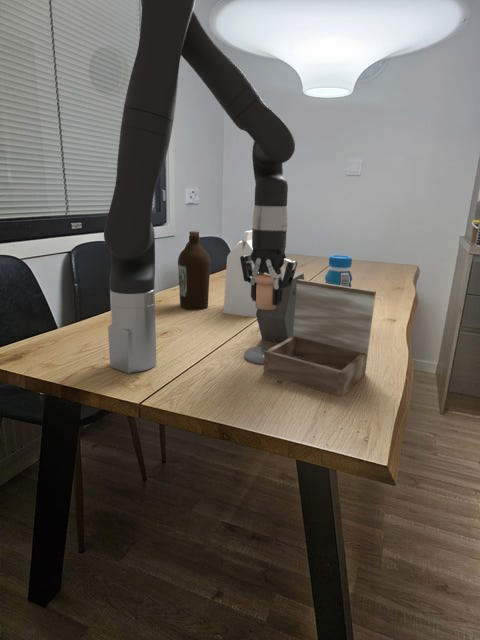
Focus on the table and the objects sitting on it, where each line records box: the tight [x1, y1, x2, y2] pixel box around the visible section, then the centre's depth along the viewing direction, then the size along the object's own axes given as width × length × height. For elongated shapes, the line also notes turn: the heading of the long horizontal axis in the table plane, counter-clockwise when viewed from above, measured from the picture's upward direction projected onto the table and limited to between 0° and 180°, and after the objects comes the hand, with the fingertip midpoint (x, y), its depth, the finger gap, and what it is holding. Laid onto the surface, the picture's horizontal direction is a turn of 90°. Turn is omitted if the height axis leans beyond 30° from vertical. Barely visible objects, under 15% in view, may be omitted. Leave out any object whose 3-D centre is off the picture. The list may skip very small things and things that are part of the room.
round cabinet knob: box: [254, 273, 280, 310], centre depth 97 cm, size 6×6×8 cm
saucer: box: [243, 346, 271, 365], centre depth 101 cm, size 9×9×1 cm
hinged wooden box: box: [262, 279, 377, 398], centre depth 90 cm, size 14×18×19 cm
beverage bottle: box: [324, 254, 353, 287], centre depth 131 cm, size 8×8×20 cm
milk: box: [223, 230, 257, 318], centre depth 137 cm, size 12×12×26 cm
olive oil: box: [177, 230, 211, 311], centre depth 139 cm, size 11×11×25 cm
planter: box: [255, 270, 305, 343], centre depth 114 cm, size 17×8×21 cm
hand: (266, 302), depth 97 cm, fingers closed on round cabinet knob, 4 cm apart
